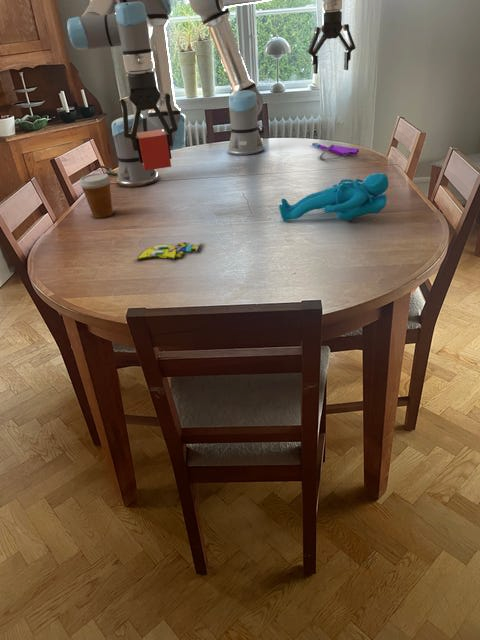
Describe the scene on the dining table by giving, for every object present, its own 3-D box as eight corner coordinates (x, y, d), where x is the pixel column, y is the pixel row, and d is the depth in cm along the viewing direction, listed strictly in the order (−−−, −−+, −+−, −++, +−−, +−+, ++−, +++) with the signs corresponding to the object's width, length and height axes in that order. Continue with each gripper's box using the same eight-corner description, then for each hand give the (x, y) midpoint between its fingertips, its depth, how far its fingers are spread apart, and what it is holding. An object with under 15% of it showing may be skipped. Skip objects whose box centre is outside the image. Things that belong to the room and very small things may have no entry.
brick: (144, 170, 136) (138, 138, 131) (142, 163, 143) (136, 132, 138) (171, 166, 137) (166, 134, 132) (167, 160, 144) (162, 129, 139)
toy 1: (193, 256, 121) (136, 257, 123) (194, 259, 121) (137, 260, 123) (201, 240, 129) (147, 241, 131) (201, 243, 130) (148, 244, 132)
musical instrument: (347, 164, 184) (366, 144, 196) (347, 159, 183) (366, 139, 195) (292, 163, 197) (312, 145, 209) (291, 158, 195) (312, 140, 208)
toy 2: (282, 188, 144) (385, 161, 134) (291, 220, 149) (391, 197, 139) (274, 208, 131) (387, 180, 120) (284, 243, 136) (394, 219, 125)
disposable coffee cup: (82, 218, 153) (72, 181, 147) (99, 208, 161) (91, 172, 154) (106, 220, 150) (97, 182, 143) (123, 210, 157) (115, 173, 151)
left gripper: (101, 77, 122) (120, 168, 134) (180, 68, 125) (192, 157, 138) (101, 74, 128) (119, 161, 140) (176, 66, 132) (188, 152, 144)
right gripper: (305, 14, 183) (305, 75, 195) (365, 8, 187) (362, 69, 199) (298, 14, 189) (299, 74, 201) (357, 8, 194) (354, 67, 205)
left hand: (155, 159), depth 139 cm, fingers closed on brick, 8 cm apart
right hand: (330, 71), depth 200 cm, fingers open, 13 cm apart
